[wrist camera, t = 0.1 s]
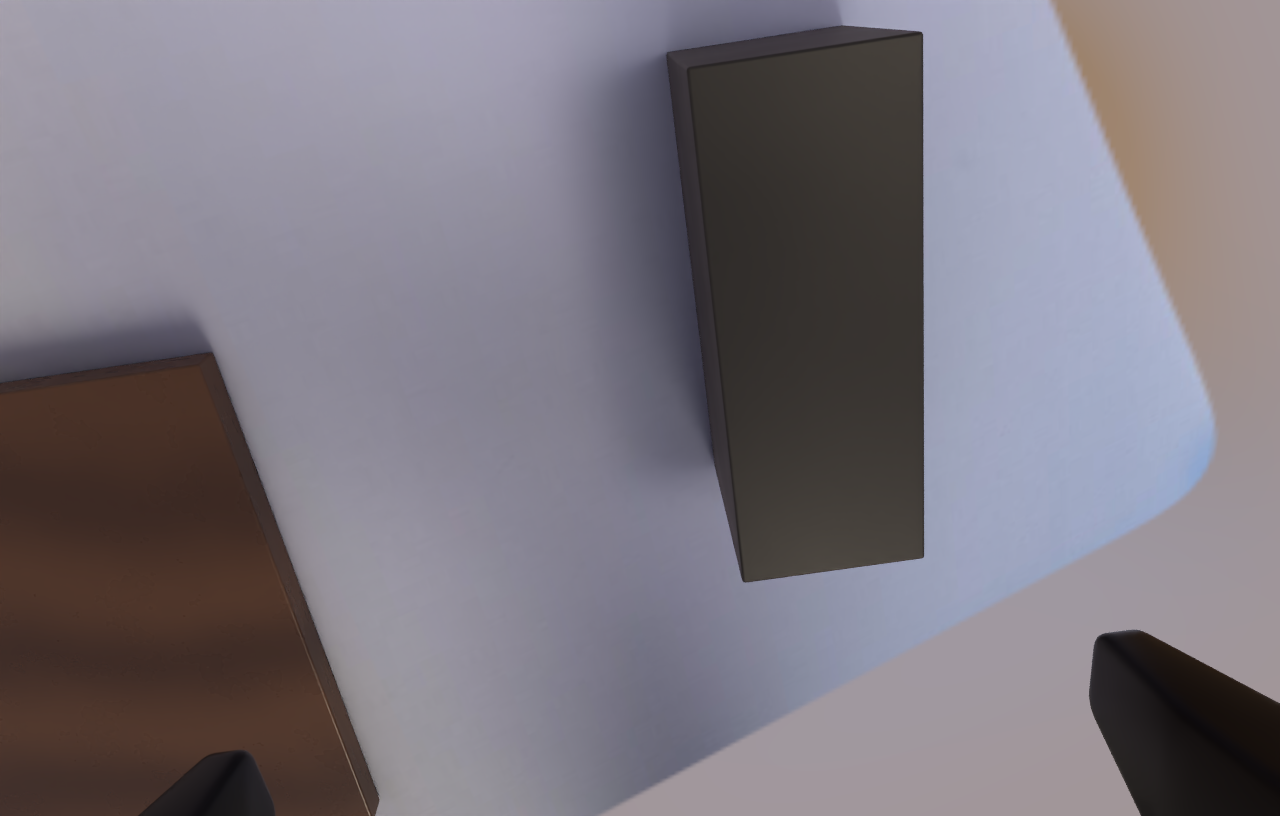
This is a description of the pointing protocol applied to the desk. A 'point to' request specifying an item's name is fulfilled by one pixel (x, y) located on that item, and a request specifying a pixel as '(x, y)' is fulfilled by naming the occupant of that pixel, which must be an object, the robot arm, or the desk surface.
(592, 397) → the desk surface
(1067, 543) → the desk surface
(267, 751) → the walnut board
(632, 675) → the desk surface
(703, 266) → the clock
